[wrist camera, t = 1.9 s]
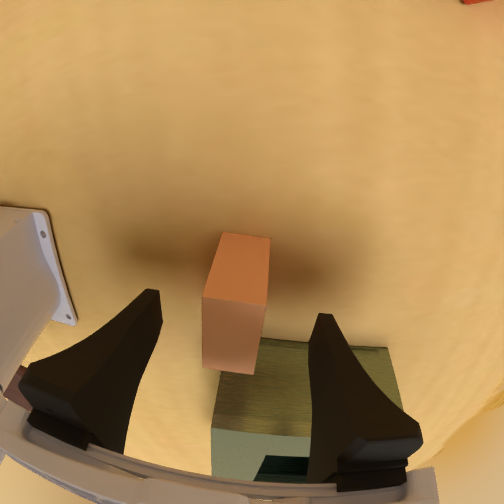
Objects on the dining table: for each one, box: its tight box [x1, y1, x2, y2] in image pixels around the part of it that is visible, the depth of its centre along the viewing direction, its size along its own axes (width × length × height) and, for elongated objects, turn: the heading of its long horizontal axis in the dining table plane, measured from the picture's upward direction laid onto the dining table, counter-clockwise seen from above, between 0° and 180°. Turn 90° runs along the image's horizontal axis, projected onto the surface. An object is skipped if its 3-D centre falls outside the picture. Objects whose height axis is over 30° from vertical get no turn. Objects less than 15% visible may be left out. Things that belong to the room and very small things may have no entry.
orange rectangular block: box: [202, 232, 271, 375], centre depth 15 cm, size 4×2×5 cm, turn 174°
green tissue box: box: [211, 338, 404, 484], centre depth 20 cm, size 14×11×7 cm
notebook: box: [3, 365, 33, 412], centre depth 30 cm, size 15×20×2 cm
